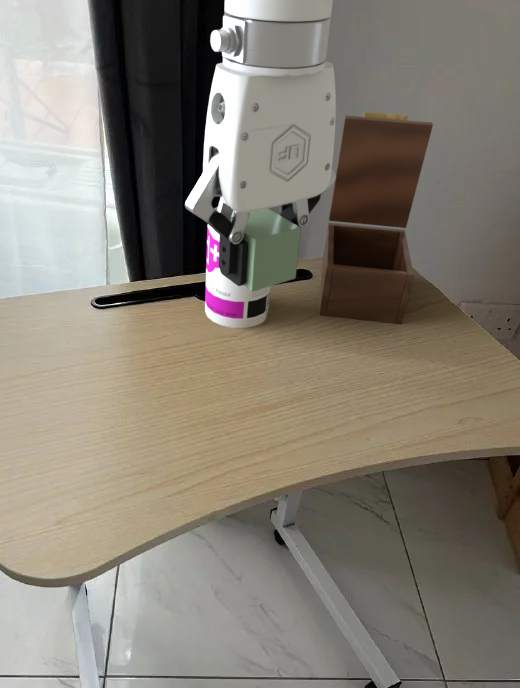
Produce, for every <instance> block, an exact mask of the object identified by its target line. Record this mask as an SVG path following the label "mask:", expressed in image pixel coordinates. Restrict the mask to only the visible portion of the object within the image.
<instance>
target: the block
mask: <svg viewBox="0 0 520 688" xmlns="http://www.w3.org/2000/svg"><path fill="white" fill-rule="evenodd" d="M232 219H233V217H231V220H230V221H231V222H232ZM300 234H301V235H302V227H299V226H297V225H296V224H294V223H292V222H290V221H289V220H287V219H285V218H283V217H282V216H280V214H278V213H276V212H275V211H273V210H271V208H268V209H264V210H259V211H255V212H250V215H249V219H248V222H247V226H246V230H245V233H244V237H243V240H244V241H246V242H247V243H248V257H247V274H246V283H245V284H244V286H245V287H246V288H248V289H249V290H250V291H256V290H259V289H262V288H265V287H269V286H271V287H272V286H275V285H278V284H282V283H285V282H288V281H292V280H295V279H296V277H297V270H298V262H297V260H299V253H300V245H299V243H301V236H300ZM298 252H299V253H298Z"/></svg>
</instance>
